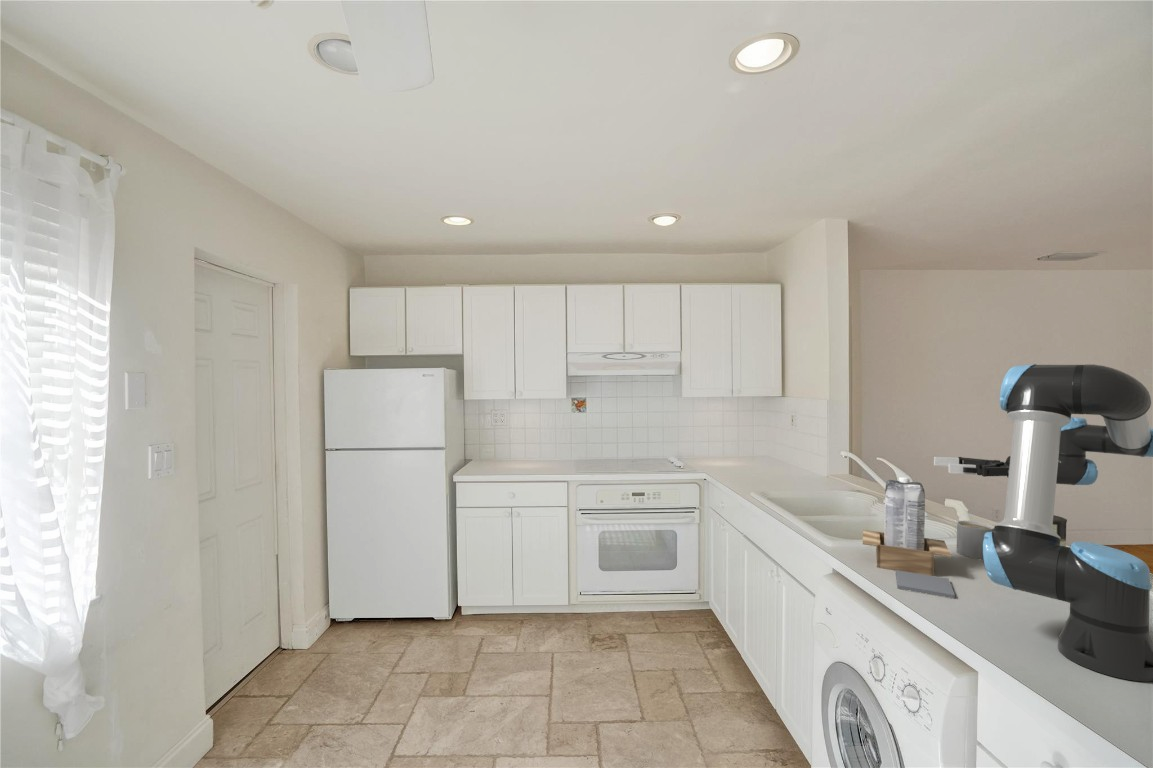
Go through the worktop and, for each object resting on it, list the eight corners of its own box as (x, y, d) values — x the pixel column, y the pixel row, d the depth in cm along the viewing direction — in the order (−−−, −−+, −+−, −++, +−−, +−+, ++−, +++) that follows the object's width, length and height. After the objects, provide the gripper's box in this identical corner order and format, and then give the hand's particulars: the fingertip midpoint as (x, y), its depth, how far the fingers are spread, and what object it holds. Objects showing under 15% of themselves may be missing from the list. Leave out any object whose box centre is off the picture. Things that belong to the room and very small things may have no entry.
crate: (950, 579, 153) (950, 555, 153) (862, 565, 164) (862, 542, 164) (943, 562, 167) (944, 540, 167) (862, 550, 178) (863, 529, 178)
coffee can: (1051, 555, 174) (1052, 513, 173) (1074, 567, 164) (1075, 522, 163) (1015, 553, 176) (1016, 511, 175) (1036, 564, 166) (1037, 520, 165)
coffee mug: (959, 556, 172) (959, 526, 172) (954, 547, 181) (954, 519, 181) (1011, 563, 166) (1011, 532, 166) (1003, 554, 175) (1003, 524, 175)
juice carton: (924, 571, 159) (926, 482, 158) (884, 565, 164) (885, 479, 164) (922, 562, 167) (923, 477, 166) (883, 556, 172) (885, 474, 171)
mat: (954, 598, 140) (954, 594, 140) (897, 588, 146) (897, 585, 146) (948, 581, 151) (948, 578, 151) (895, 573, 158) (895, 569, 158)
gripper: (1047, 490, 143) (955, 484, 150) (1006, 474, 167) (928, 469, 174) (1048, 463, 143) (956, 458, 150) (1007, 450, 166) (929, 447, 173)
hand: (941, 464), depth 162 cm, fingers open, 13 cm apart
